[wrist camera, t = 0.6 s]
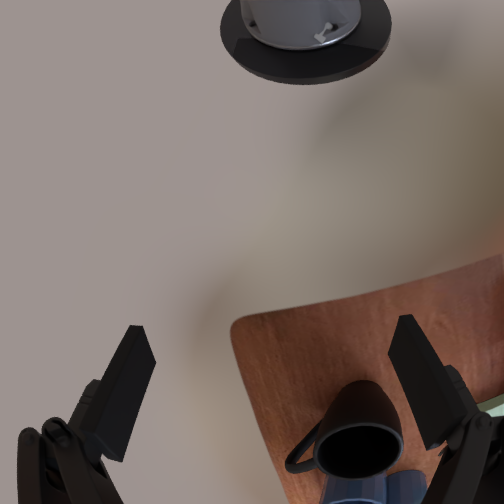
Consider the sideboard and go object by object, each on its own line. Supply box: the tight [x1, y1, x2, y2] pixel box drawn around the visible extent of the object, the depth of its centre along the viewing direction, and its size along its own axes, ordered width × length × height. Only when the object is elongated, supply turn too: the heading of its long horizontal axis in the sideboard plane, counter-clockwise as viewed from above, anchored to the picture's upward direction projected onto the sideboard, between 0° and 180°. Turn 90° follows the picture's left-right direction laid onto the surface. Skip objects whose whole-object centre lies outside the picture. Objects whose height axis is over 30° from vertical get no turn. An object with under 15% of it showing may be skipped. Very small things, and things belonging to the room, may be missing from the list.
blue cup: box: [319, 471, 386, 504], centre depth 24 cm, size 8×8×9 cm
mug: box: [285, 380, 404, 481], centre depth 23 cm, size 8×12×10 cm
